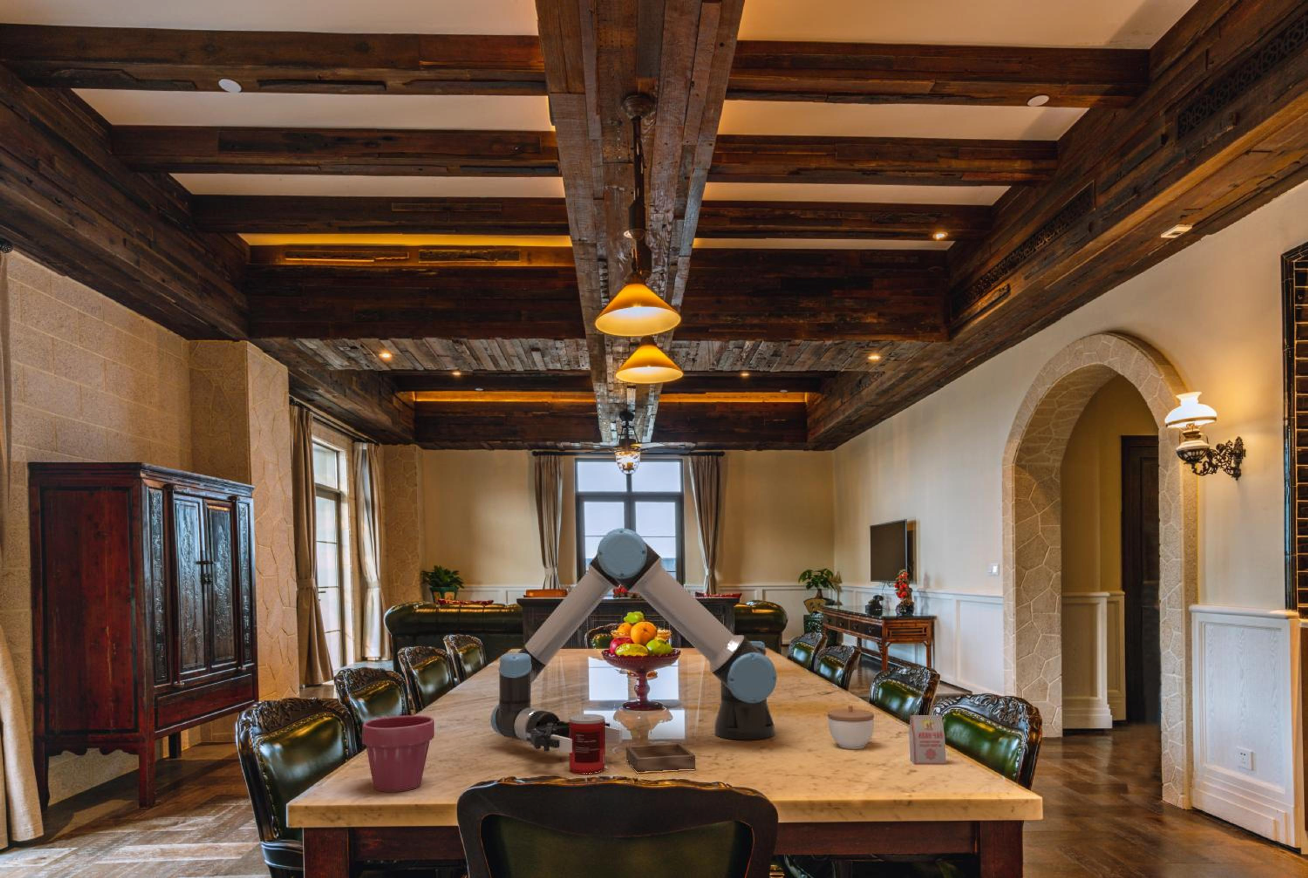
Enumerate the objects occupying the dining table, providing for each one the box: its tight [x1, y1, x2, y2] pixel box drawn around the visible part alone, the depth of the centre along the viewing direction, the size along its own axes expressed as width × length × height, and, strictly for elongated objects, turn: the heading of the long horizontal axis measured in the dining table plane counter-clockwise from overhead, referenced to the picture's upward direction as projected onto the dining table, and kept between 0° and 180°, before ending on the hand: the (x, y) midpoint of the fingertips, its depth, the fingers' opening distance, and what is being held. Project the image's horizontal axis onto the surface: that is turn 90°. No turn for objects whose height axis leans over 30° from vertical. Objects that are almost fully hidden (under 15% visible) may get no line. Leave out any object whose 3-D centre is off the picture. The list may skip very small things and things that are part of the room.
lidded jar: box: [827, 704, 875, 750], centre depth 209 cm, size 11×11×9 cm
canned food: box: [568, 713, 606, 775], centre depth 190 cm, size 8×8×11 cm
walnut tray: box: [625, 742, 696, 772], centre depth 193 cm, size 13×13×3 cm
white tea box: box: [908, 714, 947, 766], centre depth 193 cm, size 4×7×10 cm, turn 87°
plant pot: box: [361, 715, 435, 793], centre depth 178 cm, size 14×14×13 cm
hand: (596, 740), depth 187 cm, fingers open, 13 cm apart
